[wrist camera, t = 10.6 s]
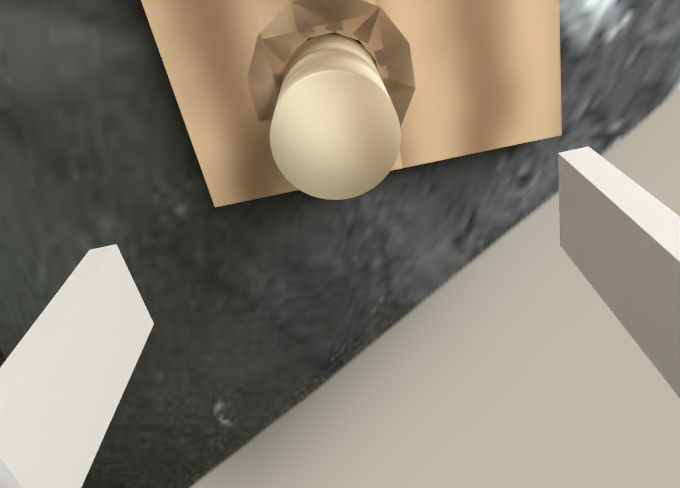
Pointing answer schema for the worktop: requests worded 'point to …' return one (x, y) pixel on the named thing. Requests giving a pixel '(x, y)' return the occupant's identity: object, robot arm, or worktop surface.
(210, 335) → the worktop surface
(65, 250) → the worktop surface
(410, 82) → the board
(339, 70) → the peg
